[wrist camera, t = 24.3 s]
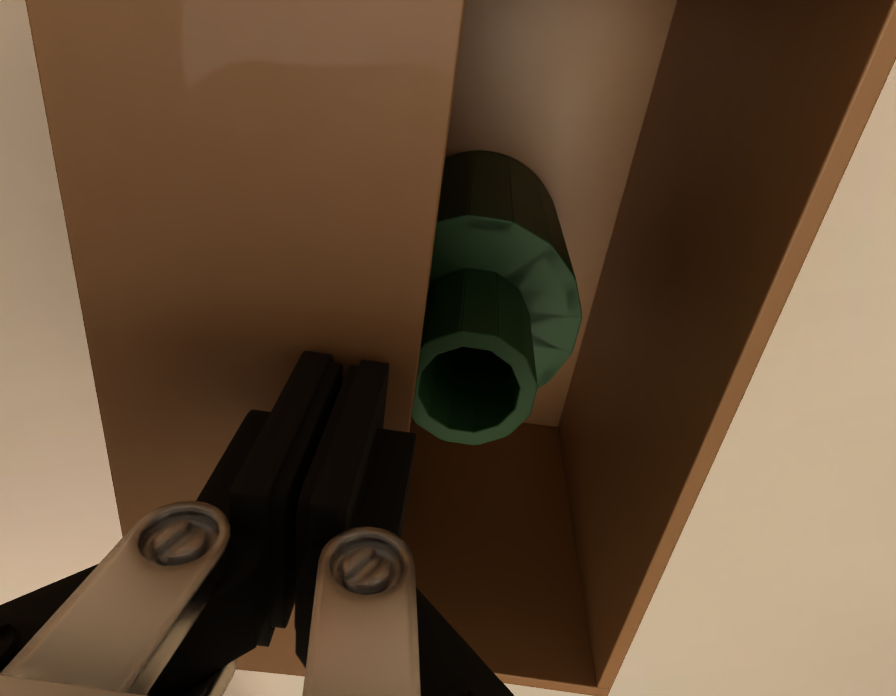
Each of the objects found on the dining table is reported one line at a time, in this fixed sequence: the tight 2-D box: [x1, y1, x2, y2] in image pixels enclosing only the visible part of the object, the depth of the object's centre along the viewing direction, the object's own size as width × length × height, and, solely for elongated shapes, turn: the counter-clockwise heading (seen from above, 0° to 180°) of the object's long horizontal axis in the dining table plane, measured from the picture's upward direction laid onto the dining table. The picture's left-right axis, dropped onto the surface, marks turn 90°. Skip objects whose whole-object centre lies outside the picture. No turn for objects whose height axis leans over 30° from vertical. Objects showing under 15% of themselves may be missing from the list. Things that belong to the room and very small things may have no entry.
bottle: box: [412, 150, 582, 445], centre depth 19 cm, size 6×6×11 cm
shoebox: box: [401, 0, 896, 696], centre depth 18 cm, size 13×18×12 cm
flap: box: [25, 0, 465, 676], centre depth 13 cm, size 6×18×1 cm, turn 172°
